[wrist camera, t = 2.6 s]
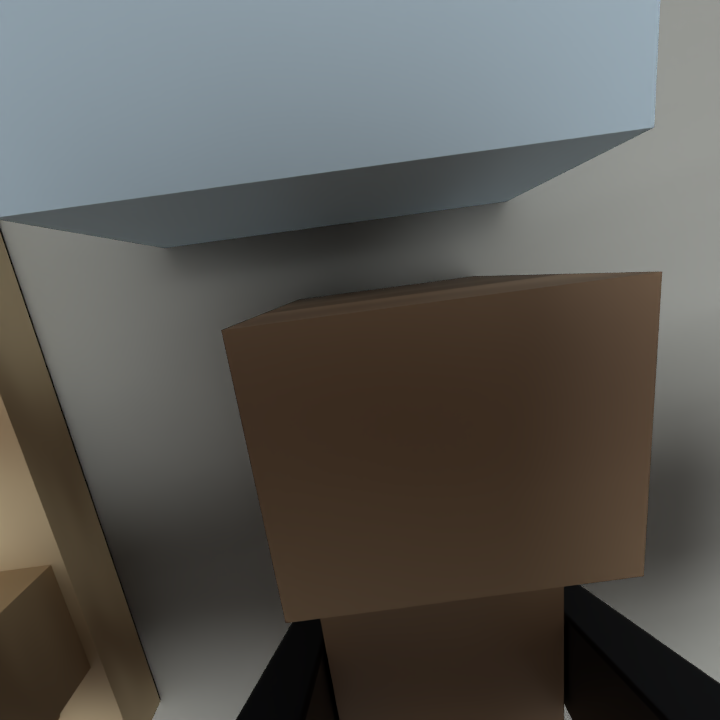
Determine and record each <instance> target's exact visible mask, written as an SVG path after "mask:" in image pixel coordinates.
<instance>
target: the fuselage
mask: <svg viewBox="0 0 720 720" xmlns="http://www.w3.org/2000/svg"><path fill="white" fill-rule="evenodd" d="M661 281H662V272H625V273H585V274H545V275H505V276H472V277H465V278H457V279H450V280H442V281H435V282H427V283H420V284H412V285H405V286H397V287H390V288H382V289H375V290H367V291H360V292H352V293H344V294H337V295H329V296H322V297H314V298H307V299H299V300H297V301H294V302H292V303H289V304H286V305H284V306H281V307H279V308H276V309H274V310H271V311H269V312H266V313H264V314H261V315H259V316H256V317H254V318H251V319H248V320H246V321H243V322H241V323H238V324H236V325H233V326H231V327H228V328H226V329H223V330H221V331H222V335H223V340H224V344H225V349H226V354H227V358H228V363H229V367H230V372H231V376H232V381H233V385H234V390H235V395H236V399H237V404H238V408H239V413H240V417H241V422H242V426H243V431H244V436H245V440H246V445H247V449H248V454H249V458H250V463H251V467H252V472H253V477H254V481H255V486H256V490H257V495H258V499H259V504H260V508H261V513H262V518H263V522H264V527H265V531H266V536H267V540H268V545H269V549H270V554H271V559H272V563H273V568H274V572H275V577H276V581H277V586H278V590H279V595H280V600H281V604H282V609H283V613H284V618H285V622H286V623H290V622H298V621H305V620H313V619H320V621H321V626H322V631H323V636H324V641H325V647H326V652H327V657H328V662H329V668H330V673H331V678H332V683H333V688H334V694H335V699H336V704H337V709H338V715H339V720H564V587H565V586H572V585H580V584H588V583H595V582H603V581H611V580H618V579H626V578H633V577H641V576H644V561H645V545H646V528H647V512H648V495H649V479H650V462H651V446H652V430H653V413H654V397H655V380H656V364H657V347H658V331H659V314H660V298H661Z"/></svg>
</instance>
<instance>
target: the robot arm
mask: <svg viewBox="0 0 720 720" xmlns="http://www.w3.org/2000/svg"><path fill="white" fill-rule="evenodd" d="M564 704H565V706H566V708H567V710H568V712H569V714H570V716H571V718H572V720H720V683H718V682H717V681H716V680H714V679H713V678H711V677H710V676H708V675H707V674H706V673H704V672H703V671H701V670H700V669H699V668H697V667H696V666H694V665H693V664H691V663H690V662H689V661H687V660H686V659H684V658H683V657H681V656H680V655H679V654H677V653H676V652H674V651H673V650H671V649H670V648H669V647H667V646H666V645H664V644H663V643H661V642H660V641H659V640H657V639H656V638H654V637H653V636H651V635H650V634H649V633H647V632H646V631H644V630H643V629H641V628H640V627H639V626H637V625H636V624H634V623H633V622H631V621H630V620H629V619H627V618H626V617H624V616H623V615H621V614H620V613H619V612H617V611H616V610H614V609H613V608H612V607H610V606H609V605H607V604H606V603H604V602H603V601H602V600H600V599H599V598H597V597H596V596H594V595H593V594H592V593H590V592H589V591H587V590H586V589H584V588H583V587H582V586H580V585H572V586H565V587H564ZM236 720H339V715H338V709H337V704H336V699H335V694H334V688H333V683H332V678H331V673H330V668H329V662H328V657H327V652H326V647H325V641H324V636H323V631H322V626H321V621H320V619H313V620H305V621H298V622H292V624H291V626H290V627H289V629H288V631H287V632H286V634H285V636H284V638H283V639H282V641H281V643H280V645H279V646H278V648H277V650H276V651H275V653H274V655H273V657H272V658H271V660H270V662H269V664H268V665H267V667H266V669H265V670H264V672H263V674H262V676H261V677H260V679H259V681H258V683H257V684H256V686H255V688H254V689H253V691H252V693H251V695H250V696H249V698H248V700H247V702H246V703H245V705H244V707H243V708H242V710H241V712H240V714H239V715H238V717H237V719H236Z"/></svg>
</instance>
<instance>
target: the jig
mask: <svg viewBox="0 0 720 720" xmlns="http://www.w3.org/2000/svg"><path fill="white" fill-rule="evenodd" d="M159 703H160V699H159V696H158V693H157V690H156V687H155V685H154V682H153V679H152V676H151V673H150V670H149V667H148V664H147V661H146V658H145V655H144V652H143V649H142V646H141V643H140V641H139V638H138V635H137V632H136V629H135V626H134V623H133V620H132V617H131V614H130V611H129V608H128V605H127V602H126V599H125V597H124V594H123V591H122V588H121V585H120V582H119V579H118V576H117V573H116V570H115V567H114V564H113V561H112V558H111V555H110V553H109V550H108V547H107V544H106V541H105V538H104V535H103V532H102V529H101V526H100V523H99V520H98V517H97V514H96V511H95V509H94V506H93V503H92V500H91V497H90V494H89V491H88V488H87V485H86V482H85V479H84V476H83V473H82V470H81V467H80V465H79V462H78V459H77V456H76V453H75V450H74V447H73V444H72V441H71V438H70V435H69V432H68V429H67V426H66V424H65V421H64V418H63V415H62V412H61V409H60V406H59V403H58V400H57V397H56V394H55V391H54V388H53V385H52V382H51V380H50V377H49V374H48V371H47V368H46V365H45V362H44V359H43V356H42V353H41V350H40V347H39V344H38V341H37V338H36V336H35V333H34V330H33V327H32V324H31V321H30V318H29V315H28V312H27V309H26V306H25V303H24V300H23V297H22V294H21V292H20V289H19V286H18V283H17V280H16V277H15V274H14V271H13V268H12V265H11V262H10V259H9V256H8V253H7V250H6V248H5V245H4V242H3V239H2V236H1V233H0V720H152V719H153V716H154V714H155V712H156V710H157V707H158V705H159Z"/></svg>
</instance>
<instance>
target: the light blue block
mask: <svg viewBox="0 0 720 720" xmlns="http://www.w3.org/2000/svg"><path fill="white" fill-rule="evenodd" d="M659 15H660V0H0V220H4V221H10V222H16V223H21V224H27V225H33V226H39V227H45V228H51V229H56V230H62V231H68V232H74V233H80V234H86V235H91V236H97V237H103V238H109V239H115V240H121V241H127V242H132V243H138V244H144V245H150V246H156V247H162V248H169V247H176V246H183V245H191V244H198V243H205V242H213V241H220V240H227V239H235V238H242V237H249V236H257V235H264V234H271V233H279V232H286V231H293V230H301V229H308V228H315V227H323V226H330V225H337V224H345V223H352V222H359V221H367V220H374V219H381V218H389V217H396V216H403V215H411V214H418V213H425V212H433V211H440V210H447V209H455V208H462V207H469V206H477V205H484V204H491V203H499V202H506V201H508V200H510V199H512V198H514V197H516V196H518V195H520V194H522V193H524V192H526V191H528V190H530V189H532V188H534V187H536V186H538V185H540V184H542V183H544V182H546V181H548V180H550V179H552V178H554V177H556V176H558V175H560V174H562V173H564V172H566V171H568V170H570V169H572V168H574V167H576V166H578V165H580V164H582V163H584V162H586V161H588V160H590V159H592V158H594V157H596V156H598V155H600V154H602V153H604V152H606V151H608V150H610V149H612V148H614V147H616V146H618V145H620V144H622V143H624V142H626V141H628V140H630V139H632V138H634V137H636V136H638V135H640V134H642V133H644V132H646V131H648V130H650V129H652V128H654V119H655V99H656V78H657V57H658V36H659Z"/></svg>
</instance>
